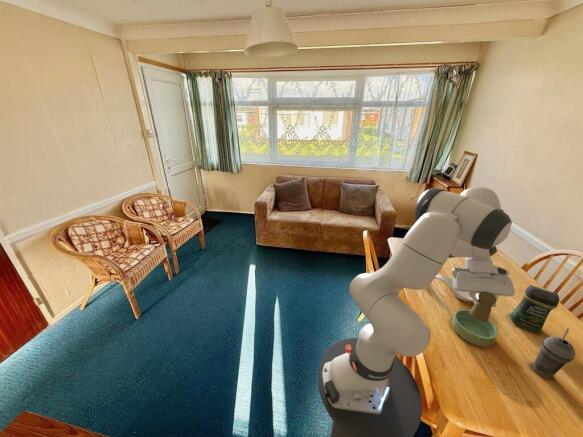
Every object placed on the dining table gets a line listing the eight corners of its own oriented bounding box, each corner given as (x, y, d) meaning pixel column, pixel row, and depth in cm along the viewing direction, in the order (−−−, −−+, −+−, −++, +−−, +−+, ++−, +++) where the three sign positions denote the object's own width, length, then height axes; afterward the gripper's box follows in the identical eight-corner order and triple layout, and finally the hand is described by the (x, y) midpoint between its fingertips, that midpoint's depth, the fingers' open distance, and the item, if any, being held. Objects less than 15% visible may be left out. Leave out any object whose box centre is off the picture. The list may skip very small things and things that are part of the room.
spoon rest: (477, 294, 114) (482, 283, 111) (477, 309, 105) (483, 297, 102) (424, 277, 126) (427, 266, 123) (421, 289, 118) (424, 277, 115)
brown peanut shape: (466, 313, 92) (475, 292, 87) (474, 307, 94) (484, 287, 90) (483, 324, 87) (494, 302, 82) (491, 318, 90) (502, 297, 85)
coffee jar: (509, 323, 98) (528, 290, 90) (509, 312, 104) (527, 280, 96) (541, 336, 92) (564, 302, 85) (539, 324, 98) (560, 291, 90)
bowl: (468, 348, 88) (472, 339, 85) (443, 318, 100) (446, 310, 98) (502, 346, 89) (508, 337, 86) (473, 317, 101) (477, 308, 99)
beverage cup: (535, 378, 78) (565, 338, 69) (522, 358, 84) (548, 319, 76) (562, 385, 76) (596, 344, 67) (547, 364, 82) (576, 325, 74)
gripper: (455, 265, 91) (460, 302, 86) (513, 271, 88) (521, 309, 83) (447, 268, 97) (451, 302, 92) (501, 273, 94) (508, 309, 89)
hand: (485, 305), depth 88 cm, fingers closed on brown peanut shape, 4 cm apart
